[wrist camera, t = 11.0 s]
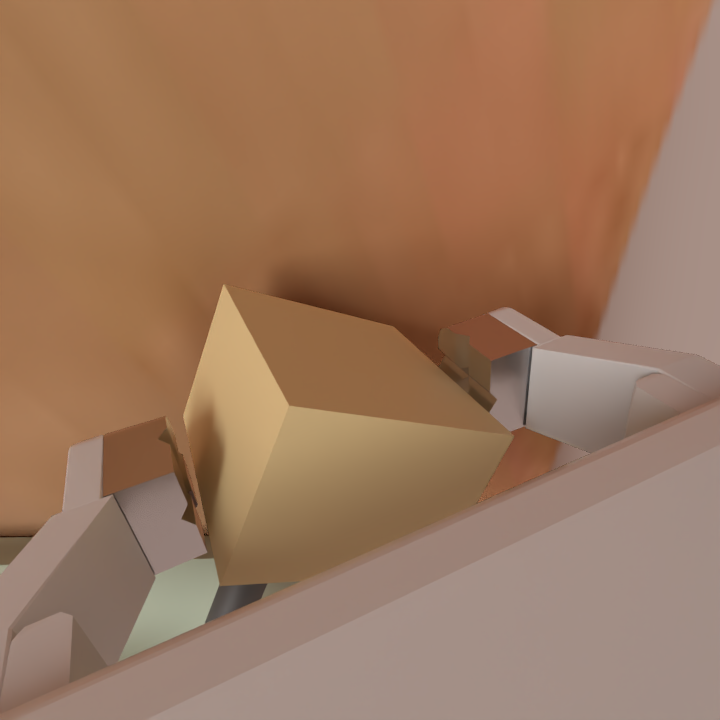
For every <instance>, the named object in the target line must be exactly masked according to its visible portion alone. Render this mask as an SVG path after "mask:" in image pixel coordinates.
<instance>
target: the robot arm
mask: <svg viewBox="0 0 720 720" xmlns="http://www.w3.org/2000/svg"><path fill="white" fill-rule="evenodd" d="M438 349H439V350H440V351H441V352H442V353H443V354H444V355H445V356H444V358H443V360H442V362H441V364H440V365H439V368H440V369H441V370H442V371H443V372H444V373H446V374H447V375H448V376H449V377H450V378H451V379H452V380H453V381H454V382H455V383H457V384H458V385H459V386H460V387H461V388H462V389H463V390H464V391H465V392H467V393H468V394H469V395H470V396H471V397H472V398H473V399H474V400H475V401H476V402H478V403H479V404H480V405H481V406H482V407H483V408H484V409H485V410H486V411H488V412H489V413H490V414H491V415H492V416H493V417H494V418H495V419H496V420H498V421H499V422H500V423H501V424H502V425H503V426H504V427H505V428H506V429H507V430H509V431H510V432H511V431H513V430H516V429H519V428H521V427H524V426H526V427H525V428H527V429H529V430H532V431H534V432H537V433H540V434H542V435H545V436H547V437H550V438H552V439H555V440H558V441H560V442H563V443H565V444H568V445H571V446H573V447H576V448H578V449H581V450H584V451H586V452H589V453H591V454H588V455H586V456H584V457H581V458H579V459H577V460H575V461H573V462H570V463H568V464H565V465H563V466H561V467H559V468H557V469H554V470H552V471H550V472H547V473H545V474H543V475H540V476H538V477H536V478H534V479H531V480H529V481H527V482H524V483H522V484H520V485H518V486H515V487H513V488H511V489H508V490H506V491H504V492H502V493H499V494H497V495H495V496H493V497H490V498H488V499H486V500H484V501H481V502H479V503H477V504H475V505H472V506H470V507H468V508H466V509H463V510H461V511H459V512H456V513H454V514H452V515H450V516H447V517H445V518H443V519H441V520H438V521H436V522H434V523H432V524H429V525H427V526H425V527H423V528H420V529H418V530H416V531H414V532H411V533H409V534H407V535H404V536H402V537H400V538H398V539H395V540H393V541H391V542H389V543H386V544H384V545H382V546H380V547H377V548H375V549H373V550H371V551H368V552H366V553H364V554H361V555H359V556H357V557H355V558H352V559H350V560H348V561H346V562H343V563H341V564H339V565H337V566H334V567H332V568H330V569H328V570H325V571H323V572H321V573H318V574H316V575H314V576H312V577H309V578H307V579H305V580H303V581H300V582H298V583H296V584H294V585H291V586H289V587H287V588H284V589H282V590H280V591H278V592H275V593H273V594H271V595H269V596H266V597H264V598H262V599H260V600H257V601H255V602H253V603H250V604H248V605H246V606H244V607H241V608H239V609H237V610H235V611H232V612H230V613H228V614H226V615H223V616H221V617H219V618H216V619H214V620H212V621H210V622H207V623H205V624H203V625H201V626H198V627H196V628H194V629H192V630H189V631H187V632H185V633H182V634H180V635H178V636H176V637H173V638H171V639H169V640H167V641H164V642H162V643H160V644H158V645H155V646H153V647H151V648H148V649H146V650H144V651H142V652H139V653H137V654H135V655H133V656H130V657H128V658H126V659H124V660H121V661H119V662H118V660H119V658H120V656H121V654H122V652H123V649H124V647H125V645H126V643H127V641H128V638H129V636H130V634H131V632H132V629H133V627H134V625H135V623H136V621H137V618H138V616H139V614H140V612H141V610H142V607H143V605H144V603H145V601H146V599H147V596H148V594H149V592H150V590H151V588H152V585H153V583H154V581H155V579H156V577H155V576H154V575H157V574H159V573H161V572H164V571H166V570H168V569H171V568H173V567H175V566H177V565H180V564H182V563H184V562H187V561H189V560H191V559H194V558H196V557H198V556H201V555H203V554H205V553H207V548H206V543H205V538H204V533H203V528H202V523H201V520H200V518H199V515H198V513H197V510H196V507H197V505H198V504H197V499H196V495H195V491H194V487H193V483H192V480H191V477H190V474H189V471H188V468H187V465H186V462H185V460H184V457H183V455H182V454H180V453H178V448H177V443H176V438H175V434H174V432H173V429H172V427H171V424H170V422H169V420H168V418H167V416H164V417H161V418H157V419H154V420H151V421H147V422H144V423H141V424H137V425H134V426H131V427H127V428H124V429H121V430H117V431H114V432H110V433H107V434H105V435H100V436H97V437H94V438H91V439H88V440H85V441H81V442H78V443H75V444H73V445H72V446H71V447H70V449H69V453H68V462H67V471H66V481H65V490H64V499H63V509H62V512H61V513H58V514H55V515H53V516H51V518H50V519H49V520H48V521H47V522H46V523H45V524H44V526H43V527H42V528H41V529H40V530H39V531H38V532H37V534H36V535H35V536H34V537H33V538H32V539H31V540H30V542H29V543H28V544H27V545H26V546H25V547H24V548H23V550H22V551H21V552H20V553H19V554H18V555H17V556H16V558H15V559H14V560H13V561H12V562H11V563H10V564H9V566H8V567H7V568H6V569H5V570H4V571H3V572H2V574H1V575H0V720H720V366H719V365H717V364H715V363H713V362H711V361H709V360H707V359H705V358H703V357H701V356H699V355H695V354H689V353H682V352H676V351H669V350H663V349H656V348H650V347H643V346H636V345H630V344H623V343H617V342H610V341H604V340H597V339H591V338H584V337H578V336H571V335H566V336H563V337H560V336H558V335H557V334H555V333H553V332H551V331H550V330H548V329H546V328H545V327H543V326H541V325H540V324H538V323H536V322H534V321H533V320H531V319H529V318H528V317H526V316H524V315H522V314H521V313H519V312H517V311H516V310H514V309H512V308H509V307H502V308H499V309H497V310H494V311H491V312H488V313H486V314H483V315H481V316H478V317H475V318H472V319H469V320H466V321H463V322H461V323H458V324H455V325H452V326H449V327H446V328H443V329H440V332H439V336H438Z"/></svg>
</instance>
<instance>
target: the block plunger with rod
mask: <svg viewBox="0 0 720 720" xmlns="http://www.w3.org/2000/svg"><path fill="white" fill-rule="evenodd" d="M183 417H184V422H185V427H186V431H187V436H188V441H189V445H190V450H191V454H192V459H193V464H194V468H195V473H196V478H197V482H198V487H199V491H200V496H201V501H202V505H203V510H204V515H205V519H206V524H207V528H208V533H209V538H210V542H211V547H212V552H213V556H214V561H215V565H216V570H217V575H218V579H219V587H218V590H217V592H216V595H215V597H214V600H213V603H212V605H211V608H210V611H209V613H208V616H207V618H206V621H205V623H207V622H210V621H212V620H214V619H216V618H219V617H221V616H223V615H226V614H228V613H230V612H232V611H235V610H237V609H239V608H241V607H244V606H246V605H248V604H250V603H253V602H255V601H257V600H260V599H261V598H262V595H263V593H264V591H265V588H266V586H267V584H268V583H281V582H298V581H303V580H305V579H307V578H309V577H312V576H314V575H316V574H318V573H321V572H323V571H325V570H328V569H330V568H332V567H334V566H337V565H339V564H341V563H343V562H346V561H348V560H350V559H352V558H355V557H357V556H359V555H361V554H364V553H366V552H368V551H371V550H373V549H375V548H377V547H380V546H382V545H384V544H386V543H389V542H391V541H393V540H395V539H398V538H400V537H402V536H404V535H407V534H409V533H411V532H414V531H416V530H418V529H420V528H423V527H425V526H427V525H429V524H432V523H434V522H436V521H438V520H441V519H443V518H445V517H447V516H450V515H452V514H454V513H456V512H459V511H461V510H463V509H466V508H468V507H470V506H472V505H475V504H477V502H478V500H479V498H480V497H481V495H482V493H483V491H484V490H485V488H486V486H487V484H488V482H489V481H490V479H491V477H492V475H493V474H494V472H495V470H496V468H497V466H498V465H499V463H500V461H501V459H502V458H503V456H504V454H505V452H506V450H507V449H508V447H509V445H510V443H511V442H512V440H513V438H514V435H513V434H512V433H511V432H510V431H509V430H507V429H506V428H505V427H504V426H503V425H502V424H501V423H500V422H499V421H498V420H496V419H495V418H494V417H493V416H492V415H491V414H490V413H489V412H488V411H486V410H485V409H484V408H483V407H482V406H481V405H480V404H479V403H478V402H476V401H475V400H474V399H473V398H472V397H471V396H470V395H469V394H468V393H467V392H465V391H464V390H463V389H462V388H461V387H460V386H459V385H458V384H457V383H455V382H454V381H453V380H452V379H451V378H450V377H449V376H448V375H447V374H446V373H444V372H443V371H442V370H441V369H440V368H439V367H438V366H437V365H436V364H434V363H433V362H432V361H431V360H430V359H429V358H428V357H427V356H426V355H425V354H423V353H422V352H421V351H420V350H419V349H418V348H417V347H416V346H415V345H413V344H412V343H411V342H410V341H409V340H408V339H407V338H406V337H405V336H404V335H402V334H401V333H400V332H399V331H398V330H397V329H396V328H395V327H394V326H390V325H386V324H382V323H378V322H374V321H370V320H366V319H362V318H358V317H354V316H350V315H346V314H342V313H338V312H334V311H330V310H326V309H322V308H318V307H314V306H310V305H306V304H302V303H298V302H294V301H290V300H286V299H282V298H278V297H274V296H270V295H266V294H262V293H258V292H254V291H250V290H246V289H242V288H238V287H234V286H230V285H226V284H224V285H223V288H222V291H221V295H220V298H219V301H218V304H217V308H216V311H215V314H214V317H213V321H212V324H211V327H210V330H209V334H208V337H207V340H206V343H205V347H204V350H203V353H202V356H201V360H200V363H199V366H198V369H197V373H196V376H195V379H194V382H193V386H192V389H191V392H190V395H189V399H188V402H187V405H186V408H185V412H184V415H183Z"/></svg>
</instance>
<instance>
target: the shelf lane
mask: <svg viewBox="0 0 720 720" xmlns="http://www.w3.org/2000/svg"><path fill="white" fill-rule="evenodd" d="M32 538H33V537H0V575H1V574H2V572H3V571H4V570H5V569H6V568H7V567H8V566H9V564H10V563H11V562H12V561H13V560H14V559H15V558H16V556H17V555H18V554H19V553H20V552H21V551H22V550H23V548H24V547H25V546H26V545H27V544H28V543H29V542H30V540H31V539H32ZM204 538H205V543H206V548H207V553H205V554H203V555H201V556H198V557H196V558H194V559H191V560H189V561H187V562H184V563H182V564H180V565H177V566H175V567H173V568H171V569H168V570H166V571H164V572H161V573H159V574H157V575H154V576H155V577H156V579H155V581H154V583H153V585H152V588H151V590H150V592H149V594H148V596H147V599H146V601H145V603H144V605H143V607H142V610H141V612H140V614H139V616H138V618H137V621H136V623H135V625H134V627H133V629H132V632H131V634H130V636H129V638H128V641H127V643H126V645H125V647H124V649H123V652H122V654H121V656H120V658H119V660H118V662H119V661H121V660H124V659H126V658H128V657H130V656H133V655H135V654H137V653H139V652H142V651H144V650H146V649H148V648H151V647H153V646H155V645H158V644H160V643H162V642H164V641H167V640H169V639H171V638H173V637H176V636H178V635H180V634H182V633H185V632H187V631H189V630H192V629H194V628H196V627H198V626H201V625H203V624H205V621H206V618H207V616H208V613H209V611H210V608H211V605H212V603H213V600H214V597H215V595H216V592H217V590H218V587H219V579H218V575H217V570H216V565H215V561H214V556H213V552H212V547H211V542H210V538H209V536H204ZM298 582H300V581H298ZM298 582H281V583H268V584H267V586H266V588H265V591H264V593H263V595H262V598H264V597H266V596H269V595H271V594H273V593H275V592H278V591H280V590H282V589H284V588H287V587H289V586H291V585H294V584H296V583H298ZM262 598H261V599H262Z"/></svg>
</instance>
